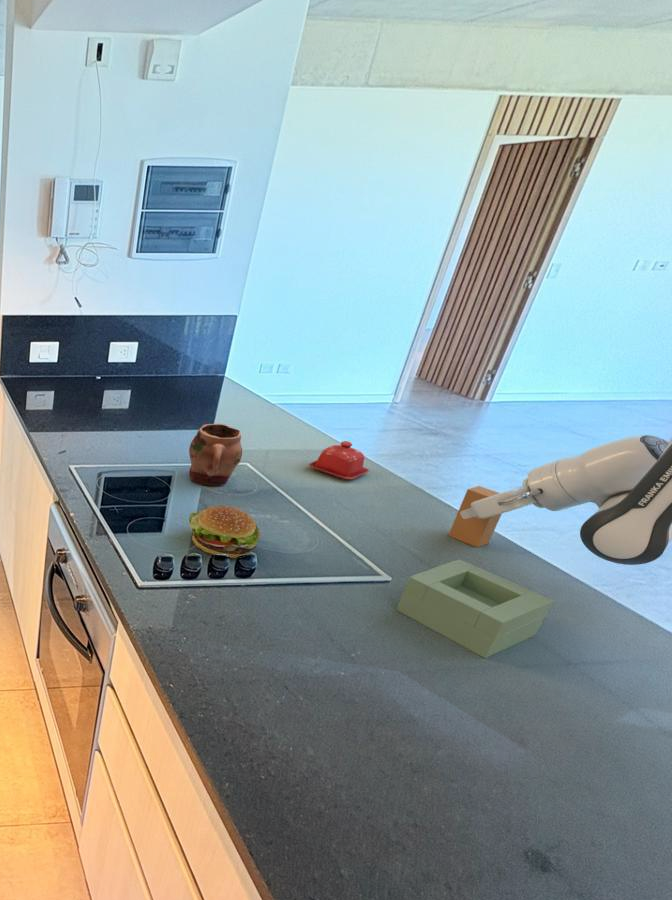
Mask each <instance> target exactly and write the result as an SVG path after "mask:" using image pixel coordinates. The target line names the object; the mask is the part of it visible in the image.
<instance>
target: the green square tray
mask: <svg viewBox="0 0 672 900" xmlns="http://www.w3.org/2000/svg"><path fill="white" fill-rule="evenodd" d="M553 603H554V600H553V599H551V598H549V597H546V596H544V595H542V594H540V593H537V592H534V591H533V590H530V589H528V588H526V587H524V586H521V585H519V584H518V583H517V584H516V583H515V582H512V581H510V580H508V579H505V578H503V577H501V576H499V575H496V574H494V573H492V572H490V571H487V570H485V569H483V568H480V567H478V566H476V565H475V564H471V563H470V562H467V561H465V560H463V559H460V558H458V559H456V560H453V561H450V562H447V563H444V564H442V565H439V566H436V567H433V568H429V569H427V570H425V571H422V572H419V573H416V574H413V575H410V576H409V577H408V579H407V582H406V584H405V587H404V589H403V592H402V595H401V597H400V599H399V602H398V604H397V607H396V611H397V612H399V613H401V614H403V615H404V616H406V617H409V618H411V619H412V620H413V621H416V622H418V623H419V624H421V625H423V626H425V627H426V628H428V629H430V630H432V631H434V632H435V633H437V634H439V635H441V636H443V637H445V638H446V639H448V640H450V641H452V642H454V643H456V644H458V645H460V646H461V647H463V648H465V649H466V650H469V651H470V652H472V653H474V654H475V655H478V656H479V657H481V658H483V659H487V658H489V657H491V656H493V655H495V654H498V653H501V652H502V651H504V650H507V649H509V648H511V647H513V646H515V645H517V644H519V643H522V642H524V641H526V640H528V639H531V638H533V637H535V636H536V635H537V633H538V632H539V629H540V627H541V625H542V624H543V622H544V620H545V618H546V616H547V614H548V613H549V611H550V608H551V607H552V605H553Z"/></svg>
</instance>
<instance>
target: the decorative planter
mask: <svg viewBox="0 0 672 900" xmlns="http://www.w3.org/2000/svg"><path fill="white" fill-rule="evenodd" d="M241 441H242V434H241V431H240V430H239V429H237V428H235V427H231V426H229V425H228V424H223V423H208V424H207V423H206V424H203V425H202V426H201V427H200V428H199V429H198V431H197V433H196V434H195V436H194V437H193V439H192V440H191V442H190V445H189V449H188V455H189V459H190V467H189V470H188V475H189V479H190V480H191V481H192V482H193V483H195V484H198V485H204V486H212V487H213V486H214V487H216V486H217V487H218V486H224V485H226V484H227V483H228V481H229V479H230V478H231V476H232V474H233V473H234V471H235V470H236V468H237V467H238V465H239V464H240V463H241V460H242V456H243V446H242V442H241Z"/></svg>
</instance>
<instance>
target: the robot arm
mask: <svg viewBox="0 0 672 900" xmlns="http://www.w3.org/2000/svg"><path fill="white" fill-rule="evenodd" d="M498 493H499V494H496V495H493V496H490V497H487V498H484V499H481V500H478V501H475V502H473V503H471V508H469V509H466V510H463V511H461V512H460V514H461V516H462V518H463V519H468V518H471V517H476V516H477V518H478V519H485V518H489V517H492V516H495V515H499V514H501V515H502V514H505V513H508V512H512V511H514V510H515V511H516V510H518V509H521V508H524V507H528V506H531V505H533V506H535V507H537V508H539V509H547V510H548V511H551V512H559V511H563V510H567V509H570V508H573V507H577V506H581V505H585V504H587V503H594V504H595V505H596V506H597V508H598V509H597V511H595V513H594V514H592V515H591V516H590V517H589V518H587V520H586V521H584V523H583V524H582V525H581V527H580V530H579V536H580V540H581V542H582V544H583V545H584V547H585V548H586V549H587V550H588V551H590V552H591V553H592V554H593V555H595V556H596V557H598V558H600V559H602V560H605V561H607V562H610V563H614V564H617V565H618V564H619V565H625V566H638V565H644V564H645V565H646V564H649V563H651V562H654V561H656V560H657V559H659V558H660V557H661V556H662V555H663V554H664V552H665V551H666V549H667V547H668V545H669V542H670V541H671V539H672V436H671V437H670V439H669V441H668V440H665V439H664V438H661V437H658V436H655V435H650V434H649V435H648V434H647V435H646V434H645V435H643V434H642V435H636V436H629V437H626V438H622V439H618V440H615V441H611V442H608V443H605V444H601V445H598V446H595V447H591V448H590V449H587V450H585V451H583V452H582V453H581V454H579V455H576V456H570V457H563V458H560V459H557V460H554V461H551V462H548V463H546V464H543V465H540V466H537V467H534V468H532V469H530V470H529V472H528V473H527V477H525V478H524V479H523V481H522V485H521V486H520V487H519V486H518V487H515V488H513V489H509V490H506V491H503V492H498Z"/></svg>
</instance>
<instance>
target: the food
mask: <svg viewBox="0 0 672 900" xmlns="http://www.w3.org/2000/svg"><path fill="white" fill-rule="evenodd" d="M188 521H189V528H190V531H191V533H192V535H191V536H192V537H191V539H192V542H193V543H194V545H195V547H196V548H198V549H200V550H201V551H203V552H204V553H206V554H209V555H213V556H215V554H226V555H228V556H229V557H230V558H229V559H238V558H237V557H239V556H241V555H244V554H248V555H249V554H250V553H252V552H253V550H255V549H256V548H257V544H258V540H259V539H260V536H261V532H260V531H259V530H260V528H258V524H257V523H256V521H255V519H254V518H253V517H252V516H251V515H250V514H248V513H247V512H246V511H244V510H242V509H239V508H236V507H233V506H228V505H215V506H214V505H213V506H209V507H207V508H203V510H199V512H198V513H197V511H194V512H192V513H191V514H190V515H189V517H188ZM239 558H240V557H239Z"/></svg>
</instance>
